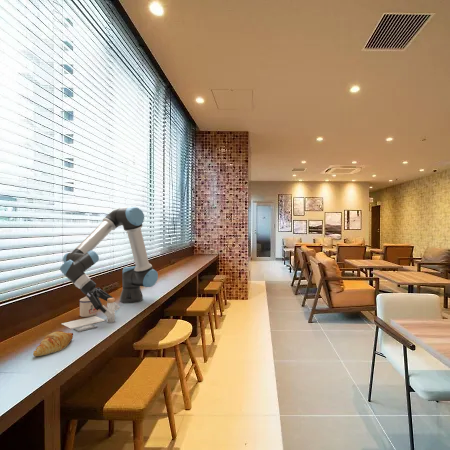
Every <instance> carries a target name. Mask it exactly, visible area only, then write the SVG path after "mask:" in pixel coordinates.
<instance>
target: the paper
mask: <svg viewBox="0 0 450 450" xmlns="http://www.w3.org/2000/svg"><path fill="white" fill-rule="evenodd" d="M106 321H107V319H103V318H101V317H98V316H96V315H94V316H90V317H83V318H80V319H76V320H70V321H68V322H62V323H61V325H62V326H64V327H66V328H67V329H68V328H69V329H70V330H72V329H73V330H74V328H77V327H81V326H85V325H90V324H93V325H95V324H96V323H97V324H98V323H101V322H106Z"/></svg>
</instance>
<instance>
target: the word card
mask: <svg viewBox="0 0 450 450" xmlns="http://www.w3.org/2000/svg"><path fill="white" fill-rule="evenodd" d="M97 328H98V326H97V325H96V324H90V325H85V326H81V327H77V328H73V331H75V332H77V333H83V332H85V331H88V330H89V331H90V330H94V329H97Z"/></svg>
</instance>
